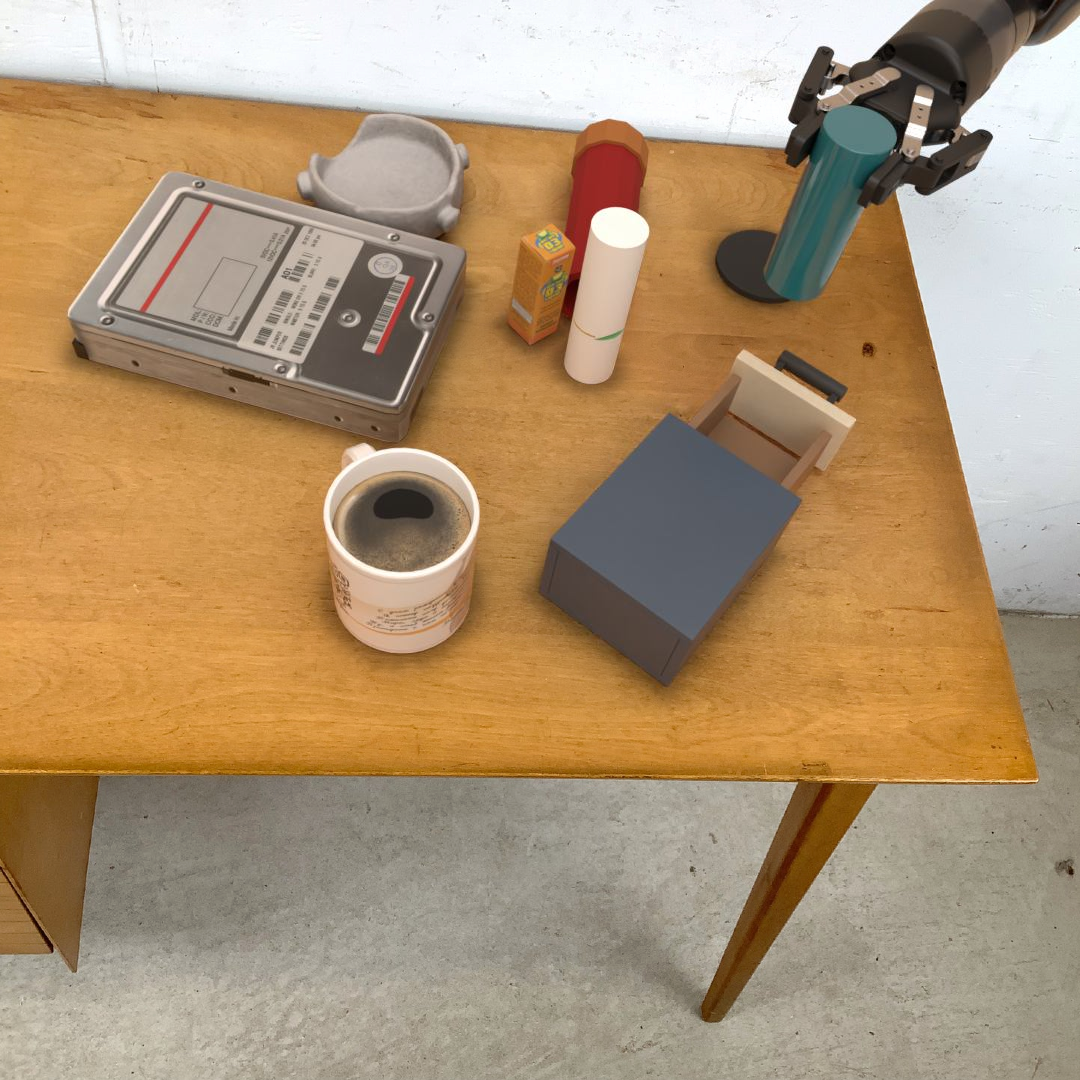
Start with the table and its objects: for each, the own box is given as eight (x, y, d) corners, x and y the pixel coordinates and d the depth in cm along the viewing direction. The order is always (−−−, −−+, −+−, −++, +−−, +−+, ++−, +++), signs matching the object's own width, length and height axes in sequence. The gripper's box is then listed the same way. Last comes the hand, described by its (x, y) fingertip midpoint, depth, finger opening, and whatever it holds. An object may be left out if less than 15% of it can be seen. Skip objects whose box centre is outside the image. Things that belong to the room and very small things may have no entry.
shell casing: (640, 184, 99) (655, 122, 93) (623, 331, 89) (638, 271, 83) (571, 172, 99) (581, 109, 93) (546, 318, 88) (555, 257, 83)
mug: (308, 640, 70) (293, 559, 61) (349, 499, 77) (341, 406, 67) (458, 665, 70) (465, 589, 61) (486, 523, 77) (496, 434, 67)
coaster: (825, 267, 96) (828, 262, 95) (778, 318, 92) (780, 313, 91) (746, 220, 98) (748, 215, 98) (697, 268, 94) (698, 263, 93)
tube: (558, 376, 85) (585, 239, 72) (569, 340, 87) (597, 201, 75) (608, 389, 85) (643, 254, 72) (617, 353, 87) (654, 215, 75)
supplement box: (531, 349, 86) (544, 261, 78) (506, 324, 88) (516, 234, 79) (560, 332, 88) (577, 244, 79) (535, 308, 89) (549, 218, 80)
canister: (837, 277, 76) (909, 129, 65) (806, 311, 74) (876, 164, 63) (783, 245, 77) (845, 94, 66) (751, 278, 75) (810, 128, 64)
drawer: (749, 367, 87) (770, 319, 82) (854, 432, 84) (881, 387, 79) (633, 494, 79) (648, 450, 74) (745, 571, 76) (768, 531, 71)
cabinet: (648, 471, 81) (669, 411, 75) (770, 553, 78) (803, 499, 72) (537, 592, 74) (550, 538, 68) (667, 687, 71) (692, 640, 65)
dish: (287, 230, 91) (281, 185, 86) (348, 139, 98) (345, 93, 94) (440, 277, 90) (442, 233, 85) (489, 181, 97) (493, 136, 93)
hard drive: (177, 209, 90) (167, 168, 87) (467, 287, 89) (470, 249, 86) (77, 356, 81) (61, 317, 77) (401, 446, 80) (401, 410, 76)
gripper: (875, -33, 71) (752, 71, 64) (1060, 59, 68) (955, 181, 60) (837, 64, 78) (721, 169, 70) (1004, 152, 74) (902, 274, 66)
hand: (830, 174), depth 65 cm, fingers closed on canister, 5 cm apart
